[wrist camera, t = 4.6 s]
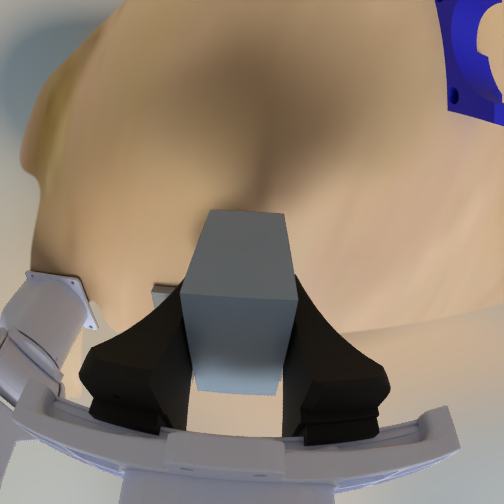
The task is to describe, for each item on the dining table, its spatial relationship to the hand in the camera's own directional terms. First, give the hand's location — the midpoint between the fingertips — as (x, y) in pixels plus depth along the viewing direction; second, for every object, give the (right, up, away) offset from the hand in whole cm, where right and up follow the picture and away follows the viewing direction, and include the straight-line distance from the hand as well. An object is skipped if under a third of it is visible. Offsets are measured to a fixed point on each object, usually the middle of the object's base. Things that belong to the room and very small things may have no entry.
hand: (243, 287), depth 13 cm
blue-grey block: (0, +1, +2) cm, 2 cm away
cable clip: (+18, +19, 0) cm, 26 cm away
